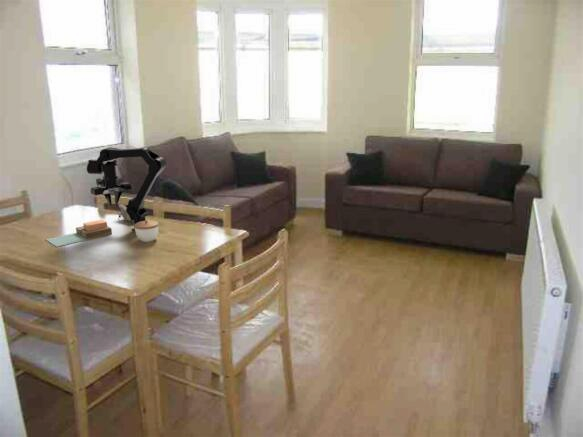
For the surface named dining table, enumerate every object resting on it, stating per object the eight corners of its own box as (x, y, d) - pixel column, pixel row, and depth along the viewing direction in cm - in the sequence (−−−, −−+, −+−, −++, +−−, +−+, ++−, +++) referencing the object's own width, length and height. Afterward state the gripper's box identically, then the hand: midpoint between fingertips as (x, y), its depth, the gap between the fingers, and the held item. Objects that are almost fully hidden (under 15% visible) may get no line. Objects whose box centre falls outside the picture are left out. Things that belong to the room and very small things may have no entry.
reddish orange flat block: (107, 226, 261) (106, 222, 261) (88, 230, 256) (88, 225, 255) (102, 224, 266) (101, 219, 265) (83, 228, 260) (83, 223, 259)
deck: (112, 234, 260) (111, 228, 259) (87, 239, 252) (86, 233, 252) (100, 228, 269) (100, 222, 269) (76, 233, 262) (75, 227, 261)
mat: (87, 240, 252) (87, 239, 252) (56, 247, 243) (56, 246, 243) (75, 233, 262) (75, 232, 262) (45, 239, 253) (45, 239, 253)
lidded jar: (135, 244, 245) (133, 224, 243) (135, 237, 255) (133, 218, 252) (160, 242, 248) (158, 222, 245) (159, 235, 258) (157, 216, 255)
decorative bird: (131, 225, 275) (130, 210, 273) (116, 219, 286) (115, 205, 284) (141, 222, 279) (139, 208, 277) (126, 216, 290) (124, 203, 288)
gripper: (121, 169, 272) (124, 199, 276) (84, 174, 260) (88, 206, 264) (131, 172, 264) (134, 203, 268) (93, 178, 252) (97, 210, 256)
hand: (113, 205), depth 265 cm, fingers open, 3 cm apart
